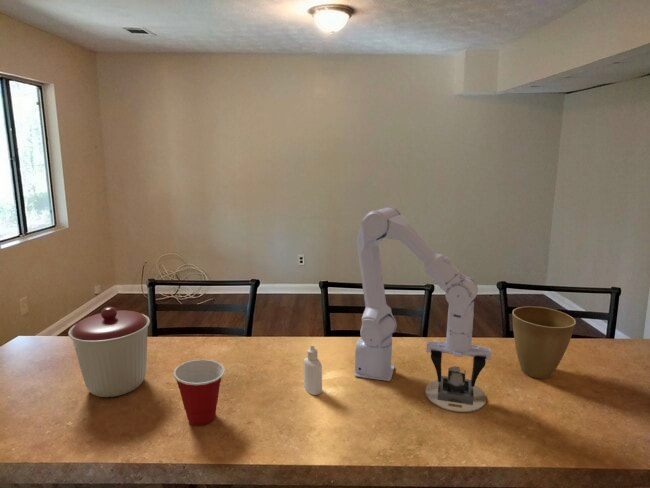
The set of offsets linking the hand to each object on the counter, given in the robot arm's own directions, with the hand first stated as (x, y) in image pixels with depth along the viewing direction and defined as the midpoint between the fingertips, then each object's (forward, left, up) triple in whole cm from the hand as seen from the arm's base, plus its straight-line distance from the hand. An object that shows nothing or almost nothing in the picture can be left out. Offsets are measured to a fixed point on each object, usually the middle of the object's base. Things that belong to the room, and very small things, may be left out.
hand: (455, 382), depth 108 cm
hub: (0, 0, -4) cm, 4 cm away
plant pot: (+21, +18, -4) cm, 28 cm away
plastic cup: (-54, -25, -4) cm, 60 cm away
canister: (-82, -19, -4) cm, 84 cm away
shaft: (0, 0, -3) cm, 3 cm away
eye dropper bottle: (-34, -7, -4) cm, 35 cm away
